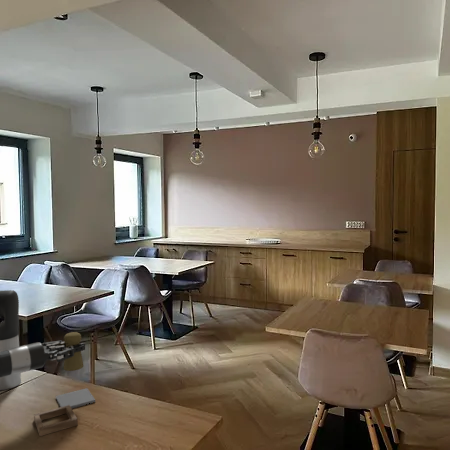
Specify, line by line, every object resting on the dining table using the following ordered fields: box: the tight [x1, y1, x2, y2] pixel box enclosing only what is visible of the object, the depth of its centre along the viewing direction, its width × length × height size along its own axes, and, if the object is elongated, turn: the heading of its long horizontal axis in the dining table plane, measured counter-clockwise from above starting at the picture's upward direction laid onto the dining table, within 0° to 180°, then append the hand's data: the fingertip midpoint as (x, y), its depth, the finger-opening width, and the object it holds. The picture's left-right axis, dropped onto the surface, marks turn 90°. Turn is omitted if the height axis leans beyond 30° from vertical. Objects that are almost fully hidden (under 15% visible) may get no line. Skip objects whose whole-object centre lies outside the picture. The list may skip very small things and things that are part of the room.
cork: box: [63, 331, 84, 372], centre depth 135 cm, size 6×6×11 cm
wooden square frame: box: [33, 405, 79, 437], centre depth 122 cm, size 10×10×2 cm
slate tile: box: [55, 387, 96, 409], centre depth 136 cm, size 10×10×1 cm
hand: (81, 344), depth 137 cm, fingers closed on cork, 4 cm apart
